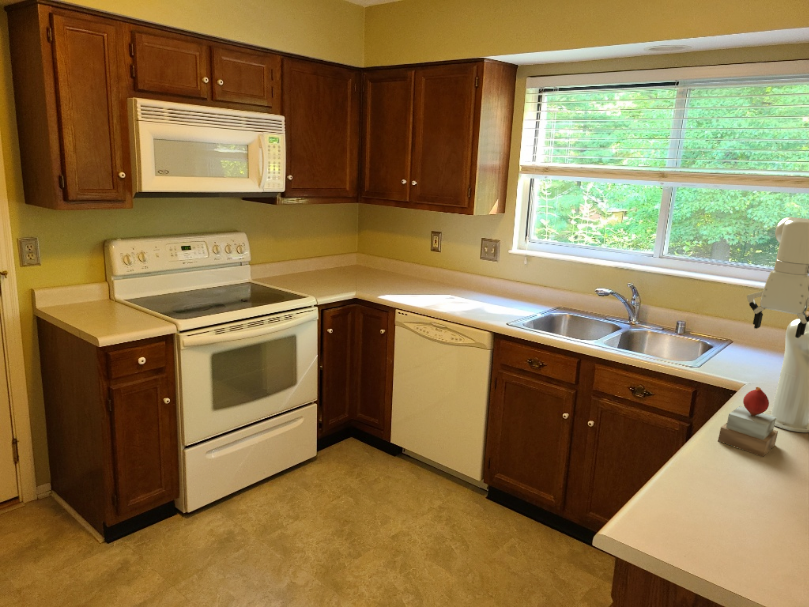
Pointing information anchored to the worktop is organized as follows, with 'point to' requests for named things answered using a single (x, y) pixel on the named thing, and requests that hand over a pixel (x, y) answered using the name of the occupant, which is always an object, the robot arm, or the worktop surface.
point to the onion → (756, 401)
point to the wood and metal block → (749, 431)
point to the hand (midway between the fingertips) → (777, 332)
